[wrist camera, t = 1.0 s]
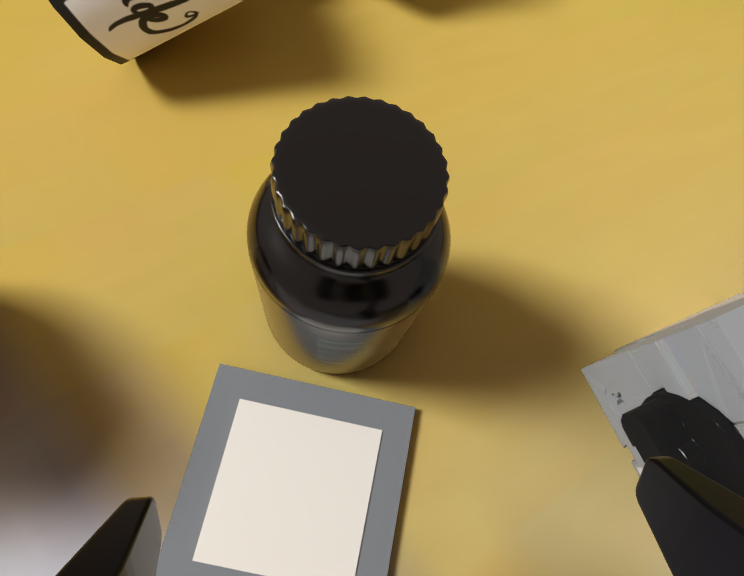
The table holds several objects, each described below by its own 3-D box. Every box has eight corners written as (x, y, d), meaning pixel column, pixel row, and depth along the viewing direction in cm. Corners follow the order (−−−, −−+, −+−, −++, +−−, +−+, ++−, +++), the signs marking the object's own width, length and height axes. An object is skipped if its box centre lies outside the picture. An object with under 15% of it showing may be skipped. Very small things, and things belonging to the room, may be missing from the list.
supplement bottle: (266, 243, 25) (231, 61, 14) (400, 241, 26) (469, 68, 15) (265, 380, 23) (225, 293, 12) (413, 372, 24) (505, 286, 13)
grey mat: (375, 634, 20) (376, 638, 20) (151, 588, 20) (147, 591, 19) (413, 408, 23) (415, 407, 23) (221, 365, 23) (219, 363, 22)
